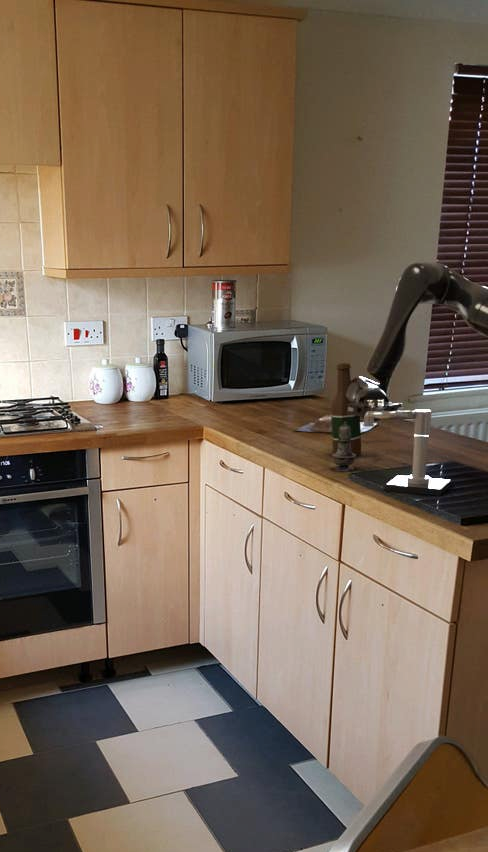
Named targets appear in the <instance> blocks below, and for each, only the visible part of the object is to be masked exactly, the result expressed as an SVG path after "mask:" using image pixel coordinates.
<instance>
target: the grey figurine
mask: <svg viewBox="0 0 488 852" xmlns="http://www.w3.org/2000/svg"><path fill="white" fill-rule="evenodd" d="M337 441H338V451H337V453H335V454H333V453H332V455H331V456H332V458H333V462H334V463H335V464H336V466H334V467H333V468H332V470H333V471H335V472H352V471H354V470H355V468H354V467H353V466H351V465H352V464H353V463H354V461H355V458H356V457H357V455H355V454H353V453H352V452H351V441H352V439H351V427H350V426H348V425H346V421H345V422H344V425H342V426H340V428H339V439H338V440H337Z"/></svg>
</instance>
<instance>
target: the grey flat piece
mask: <svg viewBox="0 0 488 852" xmlns="http://www.w3.org/2000/svg"><path fill="white" fill-rule="evenodd" d="M315 422H316V425H317V426H319V427H324V428H319V427H316V426H315V423H313V422H309V423H307V424H304V425H302V426H301V427H298V428H297V429H296V431H298V432H308V433H325V434H326V433H328V434H332V425H331V413H330V414H326V415H324V416H322V417H321V418H318V419H317V420H316V421H315ZM377 424H378V423H377V422H374V426H372V427H366V426H364V421H363V422H362V421H360V427H361V434H362V433H364V432H367V431H369V430H371V429H372V428H374V427H376V426H377ZM310 429H312V430H314V431H311V430H310Z"/></svg>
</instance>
